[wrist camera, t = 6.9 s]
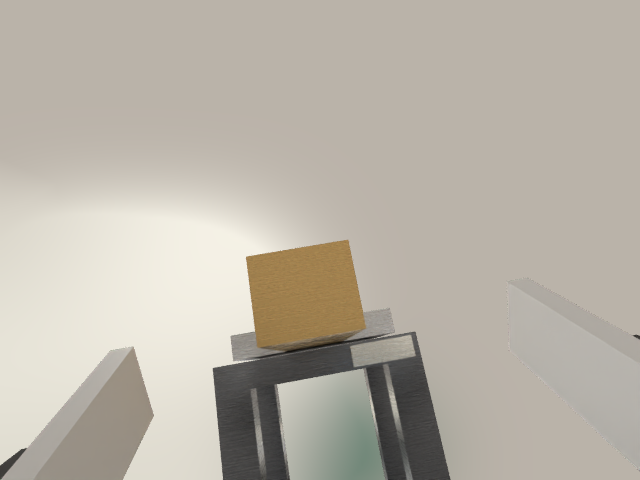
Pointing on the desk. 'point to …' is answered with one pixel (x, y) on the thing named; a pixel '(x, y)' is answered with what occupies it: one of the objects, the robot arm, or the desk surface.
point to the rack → (373, 355)
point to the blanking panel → (306, 303)
